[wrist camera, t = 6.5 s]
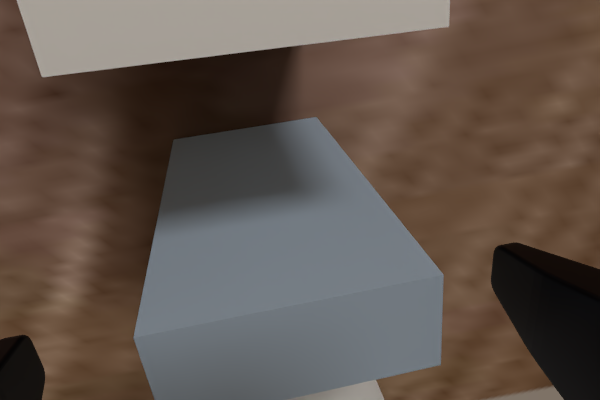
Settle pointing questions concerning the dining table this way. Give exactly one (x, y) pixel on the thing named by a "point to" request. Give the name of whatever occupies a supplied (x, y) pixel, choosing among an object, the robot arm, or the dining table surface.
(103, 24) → the domino
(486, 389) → the dining table surface
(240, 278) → the blue domino
